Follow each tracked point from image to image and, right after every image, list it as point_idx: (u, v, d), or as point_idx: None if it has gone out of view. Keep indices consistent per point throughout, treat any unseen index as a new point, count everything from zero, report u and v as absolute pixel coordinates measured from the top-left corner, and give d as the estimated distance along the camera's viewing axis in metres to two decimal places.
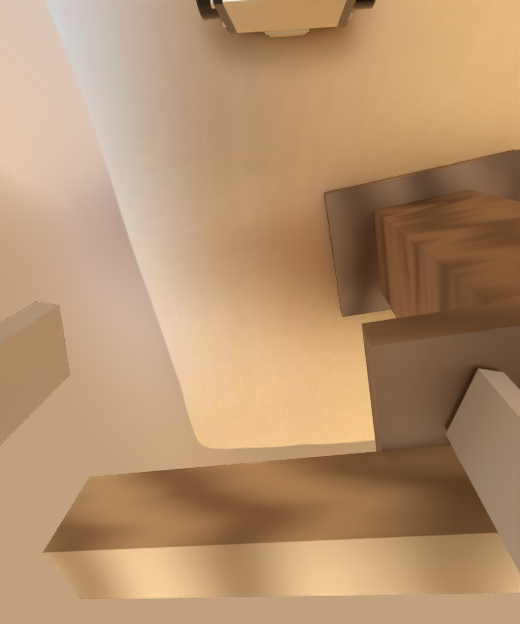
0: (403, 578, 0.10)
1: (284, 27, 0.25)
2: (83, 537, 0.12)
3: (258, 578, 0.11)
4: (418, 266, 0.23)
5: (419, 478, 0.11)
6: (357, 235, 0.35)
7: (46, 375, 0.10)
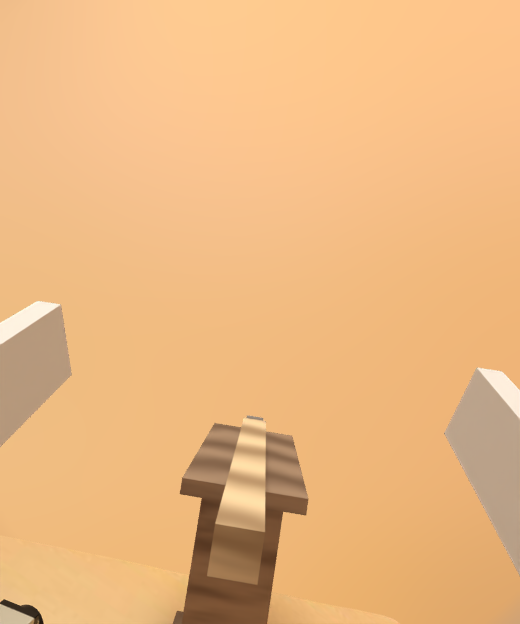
0: (256, 457, 0.32)
1: None
2: None
3: (251, 477, 0.27)
4: (201, 587, 0.37)
5: None
6: None
7: (48, 375, 0.10)
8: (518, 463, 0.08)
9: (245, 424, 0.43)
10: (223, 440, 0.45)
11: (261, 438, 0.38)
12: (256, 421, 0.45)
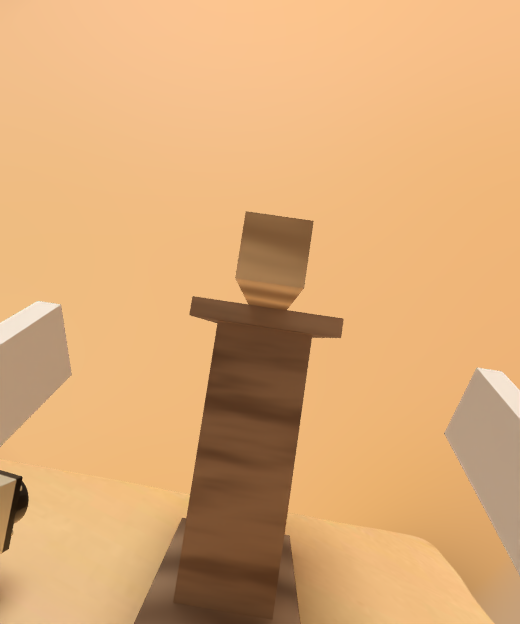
0: None
1: None
2: None
3: None
4: (213, 451, 0.31)
5: None
6: None
7: (48, 375, 0.10)
8: (518, 463, 0.08)
9: None
10: None
11: None
12: None
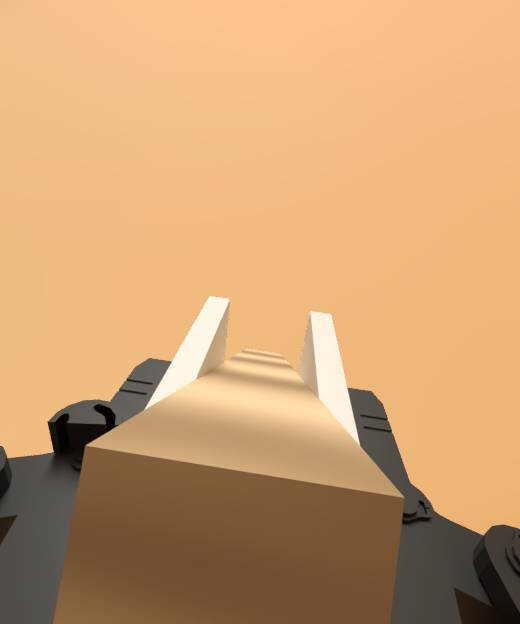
0: (274, 367, 0.15)
1: None
2: None
3: (271, 379, 0.10)
4: None
5: None
6: None
7: (220, 358, 0.12)
8: (309, 375, 0.10)
9: (248, 350, 0.26)
10: None
11: (278, 358, 0.21)
12: (266, 352, 0.28)
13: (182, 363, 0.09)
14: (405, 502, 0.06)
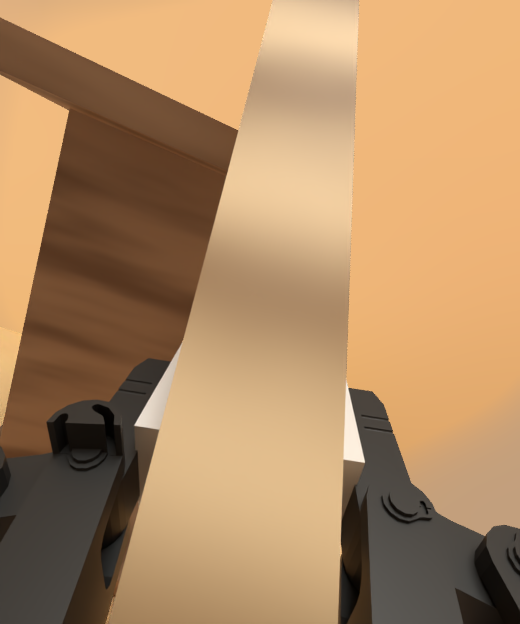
0: (320, 130, 0.09)
1: None
2: None
3: (296, 274, 0.07)
4: (51, 328, 0.20)
5: None
6: None
7: None
8: None
9: None
10: None
11: (344, 12, 0.12)
12: None
13: None
14: (406, 502, 0.06)
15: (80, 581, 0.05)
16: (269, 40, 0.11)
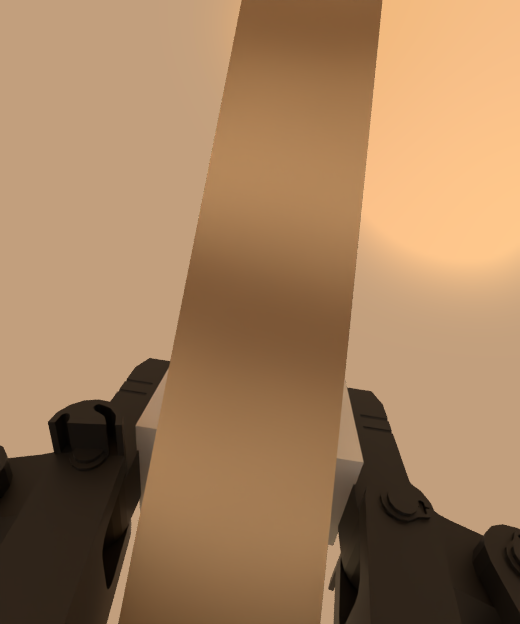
0: (329, 80, 0.07)
1: None
2: None
3: (291, 292, 0.06)
4: None
5: None
6: None
7: None
8: None
9: None
10: None
11: None
12: None
13: None
14: (405, 502, 0.06)
15: (82, 581, 0.05)
16: None
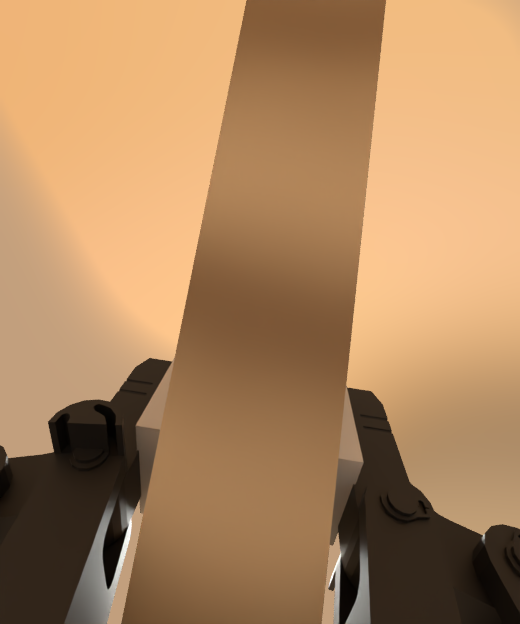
0: (332, 83, 0.07)
1: None
2: None
3: (293, 294, 0.06)
4: None
5: None
6: None
7: None
8: None
9: None
10: None
11: None
12: None
13: None
14: (405, 502, 0.06)
15: (82, 581, 0.05)
16: None
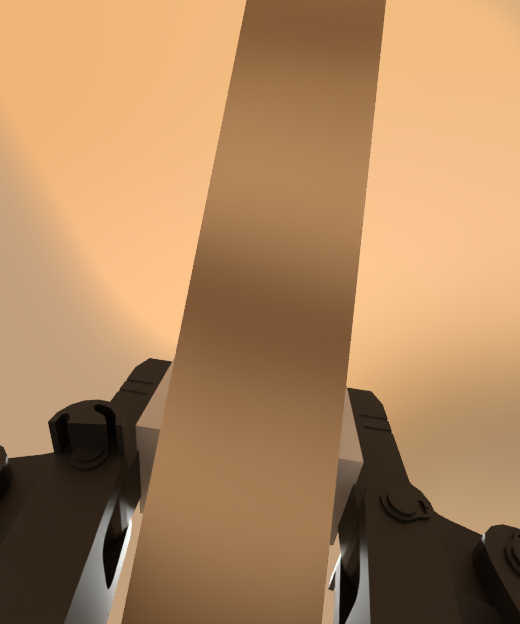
0: (333, 83, 0.07)
1: None
2: None
3: (293, 294, 0.06)
4: None
5: None
6: None
7: None
8: None
9: None
10: None
11: None
12: None
13: None
14: (405, 502, 0.06)
15: (81, 581, 0.05)
16: None
